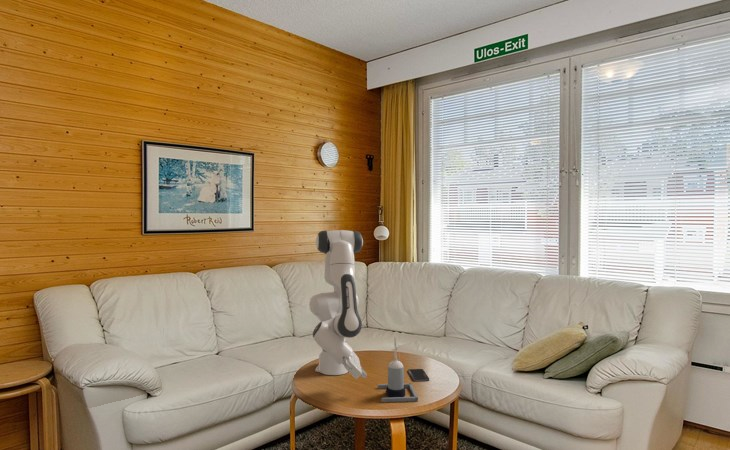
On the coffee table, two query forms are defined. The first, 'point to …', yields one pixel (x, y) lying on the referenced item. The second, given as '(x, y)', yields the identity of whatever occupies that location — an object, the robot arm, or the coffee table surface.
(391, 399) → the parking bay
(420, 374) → the phone
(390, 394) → the humidifier
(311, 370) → the coffee table surface
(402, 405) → the coffee table surface
